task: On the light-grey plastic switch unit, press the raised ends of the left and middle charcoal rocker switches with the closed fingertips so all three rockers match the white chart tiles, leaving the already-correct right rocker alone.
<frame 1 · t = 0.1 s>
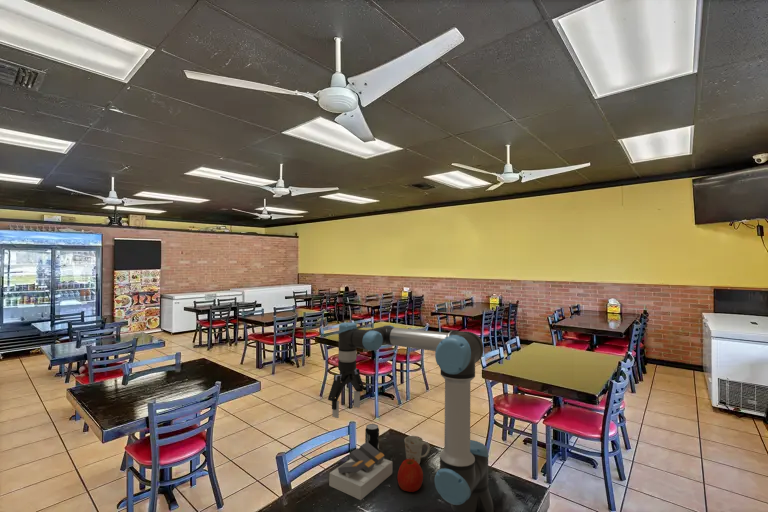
hand: (346, 411, 150), 28 cm above the table, fingers open, 13 cm apart
rocker right: (372, 452, 156), point 8 cm above the table, hinge at -20.0°
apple: (409, 487, 145), on the table
switch unit: (361, 479, 150), on the table
rocker mid: (362, 459, 150), point 8 cm above the table, hinge at -20.0°
rocker left: (351, 466, 144), point 8 cm above the table, hinge at 20.0°
beverage can: (372, 452, 173), on the table
mug: (417, 461, 165), on the table
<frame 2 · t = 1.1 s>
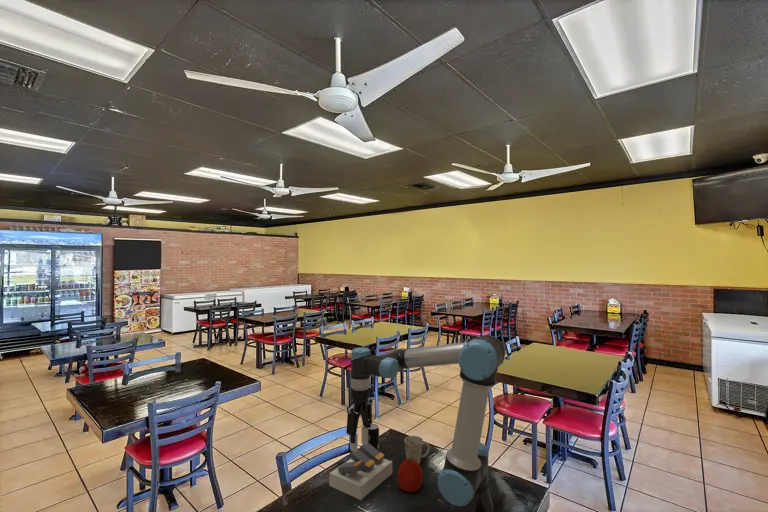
hand: (359, 447, 143), 17 cm above the table, fingers open, 6 cm apart
nothing on the table moved.
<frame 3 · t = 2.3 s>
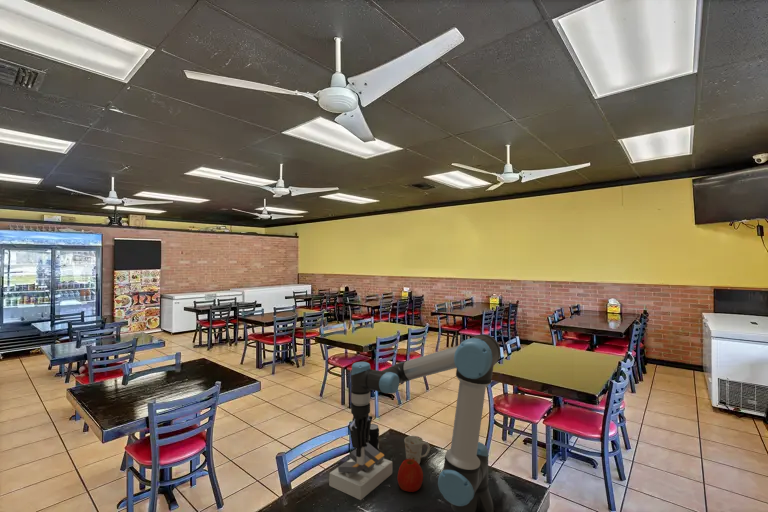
hand: (360, 463, 142), 11 cm above the table, fingers closed
rocker left: (351, 466, 144), point 8 cm above the table, hinge at 15.9°, touching gripper
everything else where it was.
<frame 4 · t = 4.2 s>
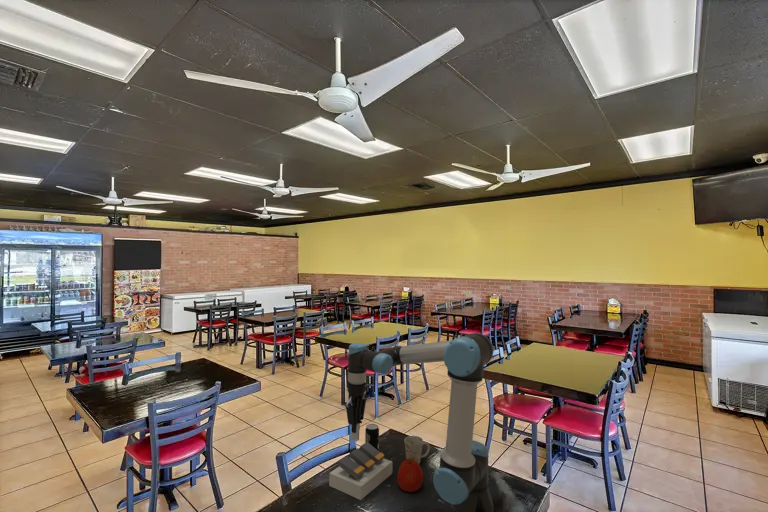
hand: (355, 439, 149), 17 cm above the table, fingers closed
rocker left: (351, 466, 144), point 8 cm above the table, hinge at -13.2°
everything else where it was.
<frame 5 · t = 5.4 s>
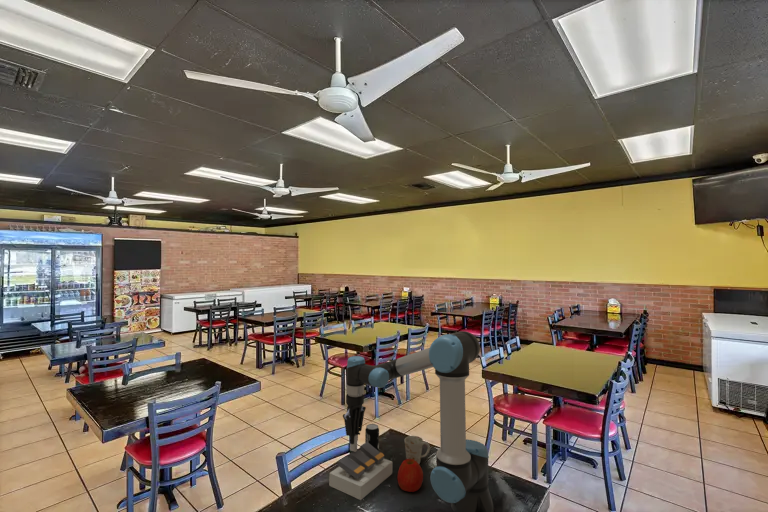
hand: (353, 450, 153), 11 cm above the table, fingers closed
rocker mid: (362, 459, 150), point 8 cm above the table, hinge at -16.1°, touching gripper
rocker left: (351, 466, 144), point 8 cm above the table, hinge at -12.7°
everything else where it was.
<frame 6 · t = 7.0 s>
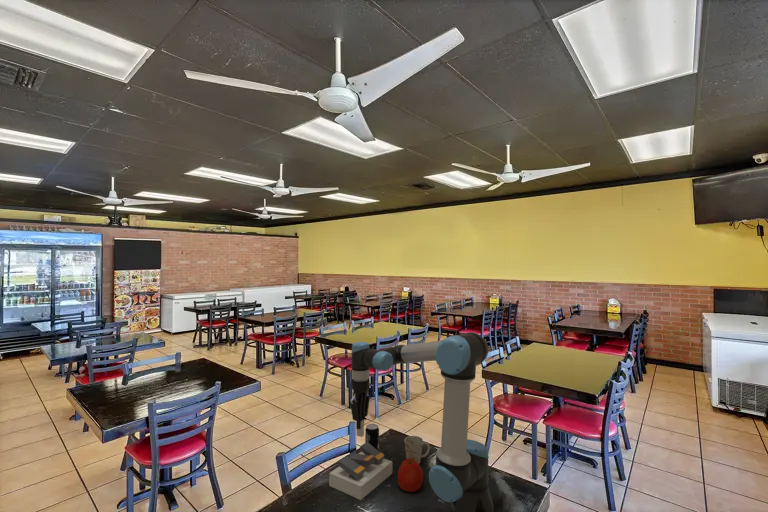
hand: (360, 435, 153), 17 cm above the table, fingers closed
rocker mid: (361, 459, 150), point 8 cm above the table, hinge at 9.5°
everything else where it was.
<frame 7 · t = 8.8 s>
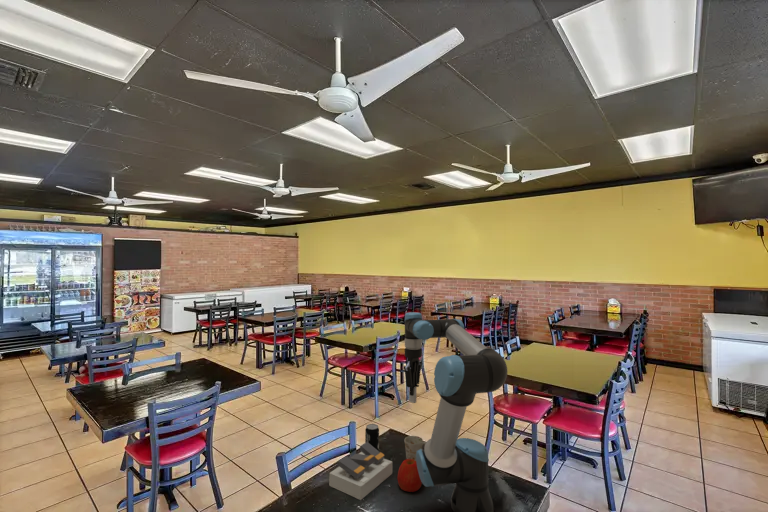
hand: (412, 402, 159), 29 cm above the table, fingers closed
rocker mid: (361, 459, 150), point 8 cm above the table, hinge at 10.2°
everything else where it was.
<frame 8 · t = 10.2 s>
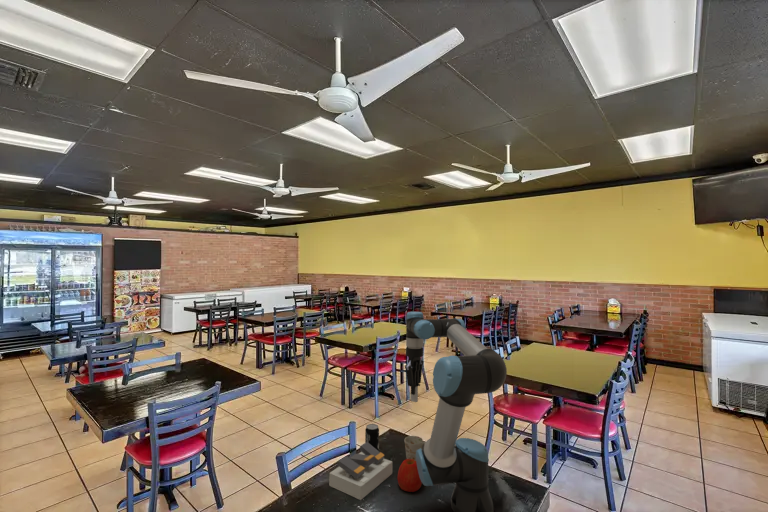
hand: (414, 401, 159), 29 cm above the table, fingers closed
nothing on the table moved.
at the end: rocker left at -13° (first picture: +20°); rocker mid at +10° (first picture: -20°); rocker right at -20° (first picture: -20°) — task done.
